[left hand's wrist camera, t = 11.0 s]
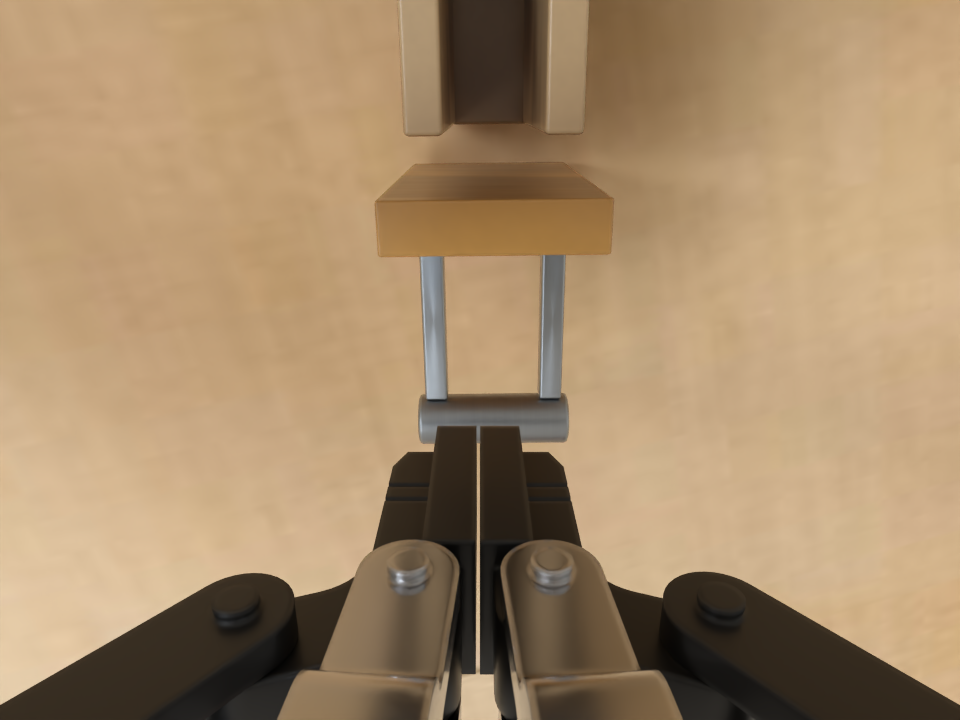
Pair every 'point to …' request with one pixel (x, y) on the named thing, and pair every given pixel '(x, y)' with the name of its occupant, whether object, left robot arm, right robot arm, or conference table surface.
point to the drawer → (493, 183)
